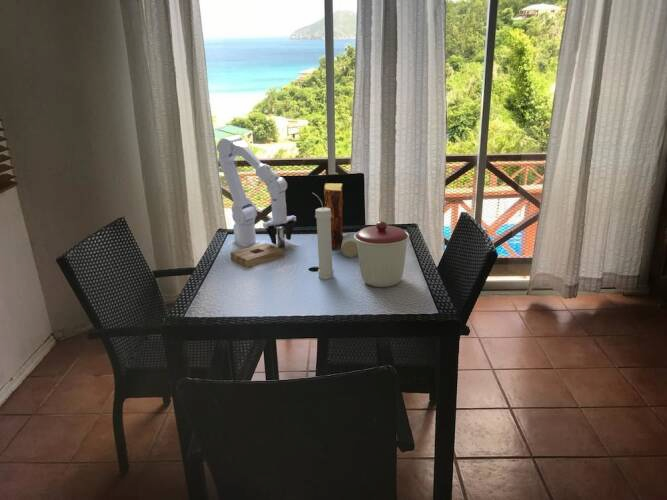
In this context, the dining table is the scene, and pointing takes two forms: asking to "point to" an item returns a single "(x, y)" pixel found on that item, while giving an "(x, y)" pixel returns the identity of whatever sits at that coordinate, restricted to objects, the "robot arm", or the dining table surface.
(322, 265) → the white tall cylinder
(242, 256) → the block
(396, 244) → the canister
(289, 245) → the mat
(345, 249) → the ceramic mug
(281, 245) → the peg
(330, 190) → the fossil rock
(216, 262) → the dining table surface
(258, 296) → the dining table surface
